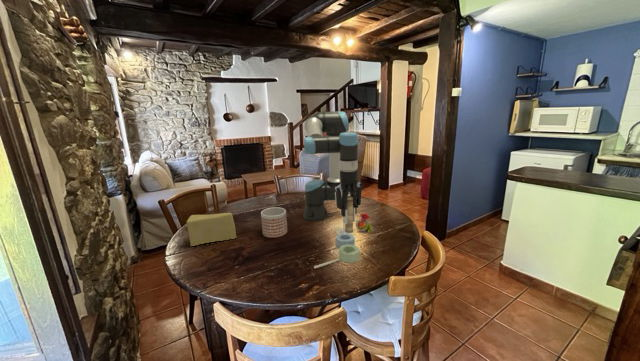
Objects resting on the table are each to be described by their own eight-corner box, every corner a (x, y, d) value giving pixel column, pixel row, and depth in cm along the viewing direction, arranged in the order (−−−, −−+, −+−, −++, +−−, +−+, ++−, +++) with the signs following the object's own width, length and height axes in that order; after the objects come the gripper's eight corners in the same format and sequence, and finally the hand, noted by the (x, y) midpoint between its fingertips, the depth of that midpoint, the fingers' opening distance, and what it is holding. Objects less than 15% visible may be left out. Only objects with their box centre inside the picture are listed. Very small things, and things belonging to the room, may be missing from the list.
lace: (313, 268, 114) (313, 266, 114) (339, 259, 120) (339, 257, 120) (314, 269, 113) (314, 267, 113) (340, 260, 119) (340, 258, 119)
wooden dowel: (343, 230, 119) (343, 196, 115) (350, 229, 121) (350, 195, 117) (347, 233, 116) (347, 199, 112) (354, 231, 118) (354, 197, 114)
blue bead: (332, 244, 134) (332, 237, 133) (344, 238, 140) (344, 231, 139) (345, 250, 127) (345, 243, 126) (358, 244, 133) (358, 237, 132)
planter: (292, 231, 150) (291, 210, 146) (272, 240, 140) (270, 218, 137) (277, 225, 159) (275, 205, 155) (257, 233, 149) (255, 212, 146)
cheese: (237, 234, 148) (234, 209, 144) (235, 243, 139) (232, 216, 135) (195, 239, 144) (190, 213, 140) (190, 248, 135) (185, 221, 131)
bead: (335, 255, 124) (335, 247, 123) (351, 250, 128) (351, 242, 127) (346, 264, 116) (346, 256, 115) (363, 259, 120) (363, 251, 119)
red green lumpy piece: (361, 237, 144) (376, 230, 144) (353, 221, 141) (368, 213, 141) (358, 233, 150) (373, 225, 150) (350, 216, 147) (365, 209, 147)
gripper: (336, 174, 104) (337, 229, 110) (370, 169, 112) (369, 220, 118) (327, 170, 111) (328, 223, 117) (359, 166, 118) (359, 215, 124)
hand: (349, 221), depth 117 cm, fingers closed on wooden dowel, 3 cm apart
